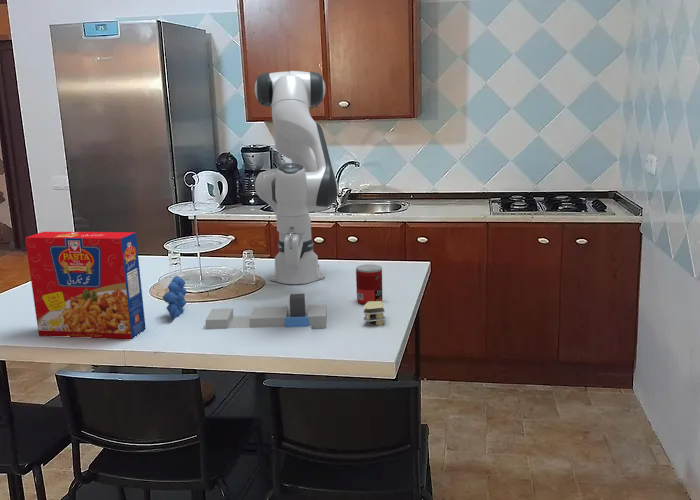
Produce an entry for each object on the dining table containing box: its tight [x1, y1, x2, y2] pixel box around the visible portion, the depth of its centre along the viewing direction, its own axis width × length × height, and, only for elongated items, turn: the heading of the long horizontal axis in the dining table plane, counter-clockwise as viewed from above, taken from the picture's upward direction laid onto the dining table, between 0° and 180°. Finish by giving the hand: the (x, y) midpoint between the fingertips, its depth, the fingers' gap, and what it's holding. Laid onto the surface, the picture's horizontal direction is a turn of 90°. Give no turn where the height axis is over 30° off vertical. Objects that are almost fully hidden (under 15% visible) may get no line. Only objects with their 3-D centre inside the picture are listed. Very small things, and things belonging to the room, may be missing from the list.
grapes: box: [162, 275, 188, 320], centre depth 204 cm, size 12×7×12 cm, turn 173°
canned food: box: [355, 263, 383, 306], centre depth 212 cm, size 8×8×11 cm
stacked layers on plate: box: [362, 300, 386, 326], centre depth 194 cm, size 10×9×6 cm
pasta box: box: [24, 231, 147, 340], centre depth 190 cm, size 28×8×28 cm, turn 79°
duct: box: [202, 304, 328, 330], centre depth 195 cm, size 11×34×4 cm, turn 91°
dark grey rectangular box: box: [289, 293, 307, 317], centre depth 195 cm, size 4×4×7 cm
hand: (294, 272), depth 193 cm, fingers closed
